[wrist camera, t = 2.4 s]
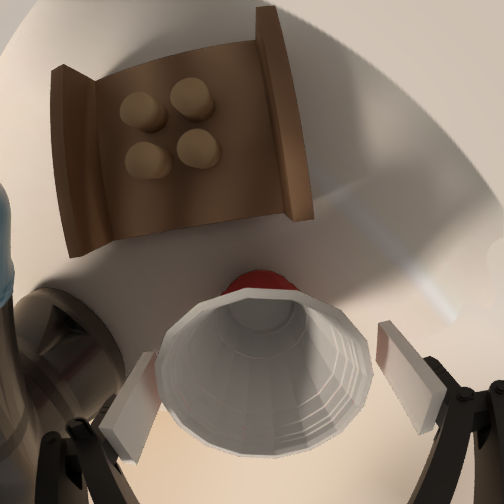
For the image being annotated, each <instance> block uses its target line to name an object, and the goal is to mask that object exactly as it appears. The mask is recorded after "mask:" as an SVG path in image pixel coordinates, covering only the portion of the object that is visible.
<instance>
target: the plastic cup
mask: <svg viewBox="0 0 504 504" xmlns="http://www.w3.org/2000/svg"><path fill="white" fill-rule="evenodd" d="M154 367H155V374H156V381H157V387H158V394H159V398H160V399H161V401H162V403H163V404H164V406H165V407H166V409H167V410H168V412H169V413H170V415H171V416H172V418H173V419H174V421H175V422H176V424H177V425H178V426H179V427H181V428H182V429H183V430H185V431H186V432H187V433H189V434H190V435H192V436H193V437H194V438H196V439H197V440H198V441H200V442H201V443H203V444H204V445H206V446H208V447H211V448H214V449H217V450H220V451H223V452H226V453H229V454H232V455H235V456H238V457H250V458H280V457H285V456H289V455H294V454H298V453H302V452H306V451H310V450H312V449H314V448H316V447H318V446H319V445H321V444H323V443H325V442H326V441H328V440H330V439H331V438H333V437H335V436H336V435H338V434H339V433H341V432H342V431H343V430H344V429H345V428H346V427H347V426H348V425H349V423H350V422H351V421H352V420H353V419H354V418H355V416H356V415H357V414H358V413H359V412H360V411H361V409H362V408H363V407H364V404H365V401H366V398H367V395H368V392H369V389H370V385H371V382H372V378H373V375H374V374H373V369H372V363H371V358H370V353H369V348H368V343H367V340H366V339H365V338H364V337H363V335H362V334H361V333H360V332H359V331H358V329H357V328H356V327H355V326H354V325H353V323H352V322H351V321H350V320H349V319H348V318H347V316H346V315H345V314H344V313H343V312H342V311H341V310H340V309H338V308H335V307H333V306H331V305H329V304H326V303H324V302H322V301H320V300H318V299H315V298H313V297H311V296H309V295H307V294H304V293H302V292H301V291H300V290H298V289H297V288H296V287H295V286H294V285H293V284H292V283H290V282H288V281H287V280H286V278H285V277H283V276H281V275H279V274H276V273H274V272H272V271H263V270H255V271H252V272H249V273H246V274H243V275H241V276H239V277H238V278H237V279H236V280H235V281H234V282H233V283H231V284H230V285H229V287H228V288H227V289H226V290H225V291H224V292H223V293H222V294H221V295H220V296H219V297H216V298H213V299H210V300H207V301H204V302H200V303H198V304H197V305H196V306H194V307H193V308H192V309H191V310H190V311H189V312H188V313H187V314H185V315H184V316H183V317H182V318H181V319H180V320H179V321H178V322H176V323H175V324H174V325H173V326H172V327H171V328H170V329H169V330H167V332H166V334H165V337H164V340H163V342H162V345H161V348H160V350H159V353H158V356H157V358H156V361H155V364H154Z"/></svg>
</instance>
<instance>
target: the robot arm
mask: <svg viewBox="0 0 504 504" xmlns="http://www.w3.org/2000/svg"><path fill="white" fill-rule="evenodd" d="M14 274H15V271H14V265H13V262H12V259H11V208H10V203H9V199H8V196H7V194H6V191H5V189H4V188H3V186H2V185H1V183H0V504H89V502H88V490H89V492H90V495H91V497H92V500H93V502H94V504H140V503H139V502H138V500H137V498H136V497H135V495H134V493H133V491H132V489H131V487H130V486H129V484H128V482H127V480H126V478H125V476H124V474H123V472H122V470H121V468H120V466H119V464H118V463H117V462H116V461H117V458H118V456H119V457H120V459H121V460H122V461H123V462H124V463H128V464H134V465H137V463H138V461H139V458H140V455H141V453H142V450H143V448H144V445H145V442H146V440H147V437H148V435H149V432H150V429H151V427H152V425H153V422H154V420H155V417H156V415H157V412H158V410H159V407H160V405H161V402H162V401H161V399H160V398H159V394H158V387H157V381H156V374H155V367H154V364H155V361H156V358H157V356H156V353H155V351H149V352H143V354H142V355H141V357H140V358H139V360H138V362H137V363H136V365H135V367H134V368H133V370H132V371H131V373H130V375H129V376H128V378H127V380H126V381H125V383H124V380H125V369H124V363H123V359H122V356H121V353H120V351H119V348H118V346H117V344H116V342H115V340H114V339H113V337H112V335H111V334H110V332H109V331H108V329H107V328H106V327H105V325H104V324H103V323H102V322H101V320H100V319H99V318H98V317H97V316H96V315H95V314H94V313H93V312H92V311H91V310H90V309H89V308H88V307H87V306H86V305H84V304H83V303H82V302H81V301H79V300H78V299H76V298H75V297H73V296H72V295H70V294H68V293H66V292H63V291H61V290H58V289H54V288H41V289H37V290H35V291H33V292H31V293H30V294H28V295H27V296H25V297H23V298H22V299H21V300H20V301H19V302H18V303H17V304H16V305H15V307H14V308H13V296H12V293H13V285H14ZM376 362H377V364H378V365H379V367H380V369H381V370H382V372H383V374H384V375H385V377H386V379H387V380H388V382H389V384H390V386H391V387H392V389H393V391H394V392H395V394H396V396H397V397H398V399H399V401H400V403H401V405H402V406H403V408H404V410H405V412H406V413H407V415H408V417H409V418H410V420H411V422H412V424H413V426H414V428H415V429H416V431H417V433H418V435H421V434H424V433H426V432H429V431H431V430H433V427H434V424H435V422H436V423H437V425H438V427H439V428H438V431H437V433H436V436H435V438H434V443H433V446H432V448H431V451H430V454H429V457H428V459H427V462H426V464H425V466H424V469H423V471H422V474H421V476H420V478H419V480H418V483H417V485H416V487H415V489H414V491H413V493H412V495H411V497H410V500H409V502H408V503H407V504H450V502H451V500H452V497H453V494H454V491H455V489H456V486H457V483H458V479H459V476H460V473H461V470H462V466H463V463H464V459H465V455H466V451H467V447H468V443H469V439H470V433H471V432H473V436H474V455H475V487H474V504H504V380H497V381H494V382H493V383H492V384H491V386H490V387H489V390H486V391H480V392H475V391H474V390H472V389H471V388H468V387H461V386H460V385H459V384H458V383H457V382H456V381H455V379H454V378H453V377H452V376H451V375H450V374H449V372H447V371H446V369H445V368H444V367H443V366H442V364H441V363H440V362H439V361H438V360H437V359H435V358H433V357H431V356H428V357H425V358H422V357H421V356H420V355H419V354H418V352H417V351H416V350H415V349H414V348H413V346H412V345H411V344H410V343H409V342H408V341H407V339H406V338H405V337H404V336H403V335H402V334H401V332H400V331H399V330H398V329H397V328H396V327H395V326H394V324H393V323H392V322H391V321H390V320H389V321H385V322H380V323H378V337H377V352H376ZM94 418H95V419H94ZM92 419H94V420H93V422H92V423H91V425H90V424H89V421H91V420H92ZM87 487H88V490H87Z"/></svg>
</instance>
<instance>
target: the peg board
mask: <svg viewBox="0 0 504 504" xmlns="http://www.w3.org/2000/svg"><path fill="white" fill-rule="evenodd" d="M50 124H51V145H52V158H53V168H54V177H55V185H56V192H57V199H58V205H59V211H60V216H61V222H62V227H63V232H64V236H65V241H66V245H67V249H68V254H69V258H75V257H80V256H84V255H86V254H88V253H90V252H92V251H94V250H96V249H98V248H100V247H102V246H104V245H106V244H108V243H110V242H112V241H115V240H120V239H125V238H130V237H136V236H141V235H147V234H152V233H158V232H163V231H169V230H175V229H181V228H187V227H193V226H199V225H205V224H211V223H217V222H224V221H230V220H237V219H243V218H250V217H257V216H264V215H271V214H278V213H285V214H286V215H287V216H288V217H289V218H290V219H291V220H292V221H293V222H298V221H306V220H313V219H314V212H313V204H312V196H311V188H310V180H309V173H308V166H307V159H306V153H305V146H304V140H303V134H302V128H301V122H300V116H299V111H298V105H297V100H296V95H295V90H294V84H293V80H292V75H291V70H290V65H289V61H288V56H287V52H286V47H285V43H284V39H283V35H282V30H281V26H280V22H279V18H278V15H277V11H276V7H275V6H262V7H256V40H251V41H243V42H236V43H229V44H223V45H217V46H212V47H206V48H201V49H197V50H192V51H188V52H183V53H179V54H175V55H171V56H168V57H164V58H160V59H157V60H153V61H150V62H147V63H144V64H140V65H137V66H134V67H131V68H128V69H126V70H123V71H120V72H117V73H115V74H112V75H109V76H107V77H104V78H102V79H99V80H97V81H94V80H92V79H91V78H89V77H87V76H85V75H83V74H81V73H80V72H78V71H76V70H74V69H72V68H70V67H68V66H66V65H65V64H63V65H61V66H59V67H57V68H55V69H54V70H52V71H51V90H50Z"/></svg>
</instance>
